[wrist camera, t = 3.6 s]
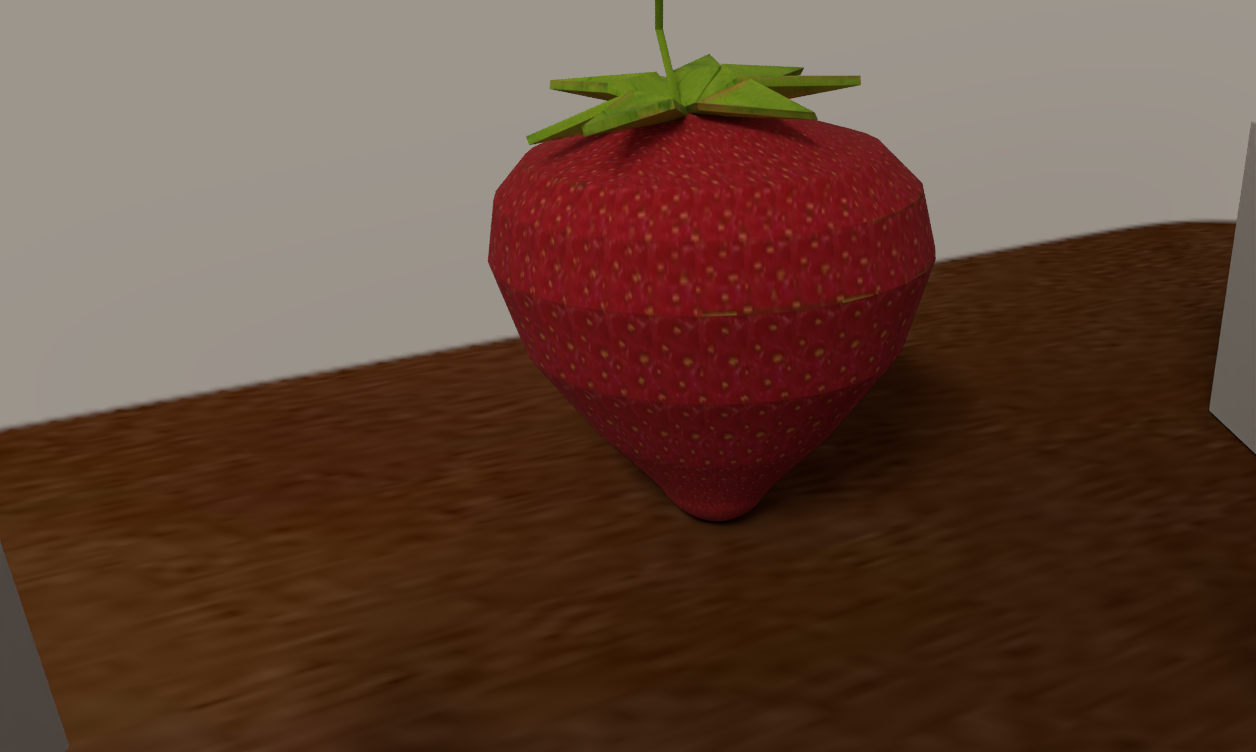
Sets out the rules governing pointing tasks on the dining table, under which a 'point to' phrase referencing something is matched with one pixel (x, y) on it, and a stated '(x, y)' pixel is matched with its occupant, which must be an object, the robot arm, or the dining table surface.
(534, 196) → the strawberry
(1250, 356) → the block
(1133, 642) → the dining table surface
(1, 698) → the robot arm
